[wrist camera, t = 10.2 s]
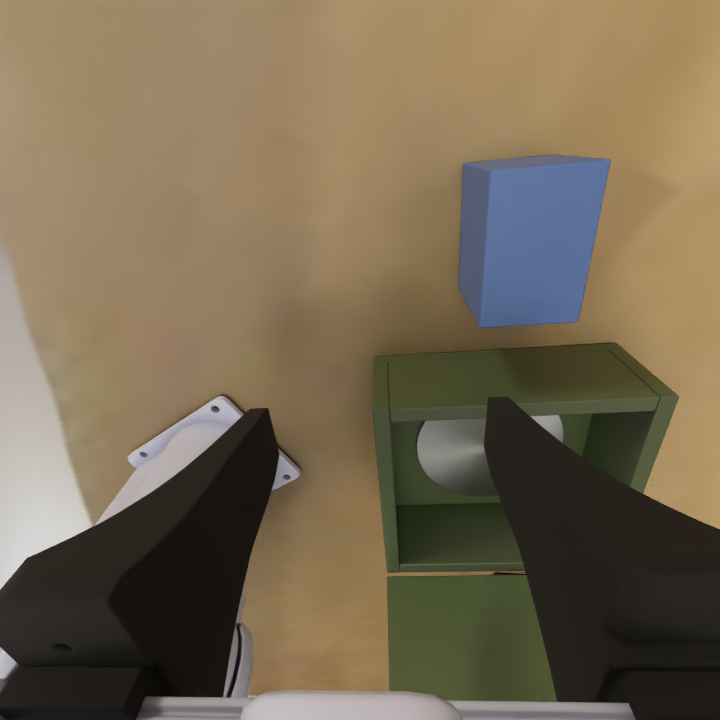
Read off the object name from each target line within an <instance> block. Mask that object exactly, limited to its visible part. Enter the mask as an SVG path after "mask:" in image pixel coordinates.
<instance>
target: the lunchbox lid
mask: <svg viewBox="0 0 720 720" xmlns="http://www.w3.org/2000/svg"><path fill="white" fill-rule="evenodd" d="M387 601H388V645H389V690H390V691H409V692H416V693H424V694H431V695H435V696H437V697H439V698H441V699H443V700H451V701H527V702H557V698H556V694H555V689H554V685H553V680H552V676H551V672H550V667H549V663H548V658H547V654H546V650H545V646H544V642H543V638H542V634H541V629H540V625H539V621H538V617H537V613H536V610H535V606H534V602H533V598H532V594H531V590H530V587H529V583H528V579H527V576H526V575H476V576H393V577H387Z"/></svg>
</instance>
